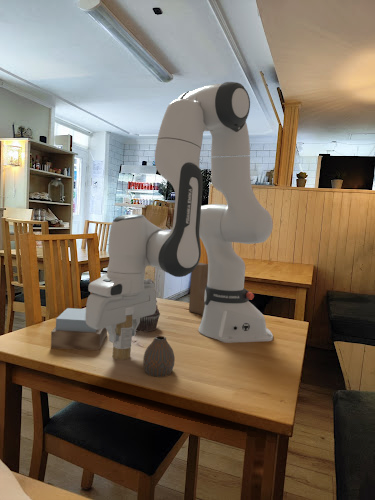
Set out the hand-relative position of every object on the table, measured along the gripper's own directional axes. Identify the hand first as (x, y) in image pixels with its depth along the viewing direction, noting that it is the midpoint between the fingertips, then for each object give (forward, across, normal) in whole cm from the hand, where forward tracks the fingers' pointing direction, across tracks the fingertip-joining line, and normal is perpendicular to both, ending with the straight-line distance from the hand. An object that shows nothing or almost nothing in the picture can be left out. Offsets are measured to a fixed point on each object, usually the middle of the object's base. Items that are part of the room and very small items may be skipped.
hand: (122, 338), depth 89 cm
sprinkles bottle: (+5, 0, 0) cm, 5 cm away
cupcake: (+5, -21, -12) cm, 25 cm away
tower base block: (+6, 0, -16) cm, 17 cm away
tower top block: (0, 0, -16) cm, 16 cm away
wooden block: (+5, -49, -10) cm, 51 cm away
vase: (+5, 0, +12) cm, 13 cm away
